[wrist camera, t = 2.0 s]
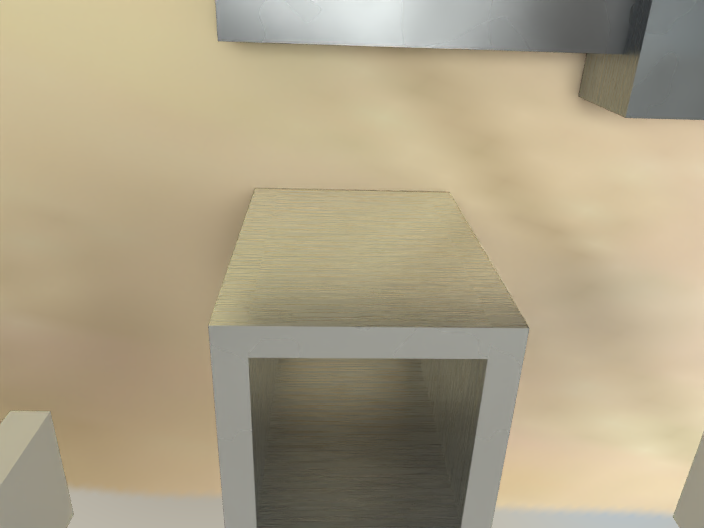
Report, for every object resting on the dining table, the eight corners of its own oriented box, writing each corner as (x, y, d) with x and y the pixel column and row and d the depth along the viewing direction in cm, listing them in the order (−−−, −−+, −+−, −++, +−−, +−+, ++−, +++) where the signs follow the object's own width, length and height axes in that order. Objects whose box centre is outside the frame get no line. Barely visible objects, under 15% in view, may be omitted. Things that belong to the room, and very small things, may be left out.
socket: (261, 352, 21) (226, 552, 13) (255, 188, 18) (208, 325, 11) (431, 353, 21) (487, 549, 14) (449, 192, 18) (529, 328, 11)
